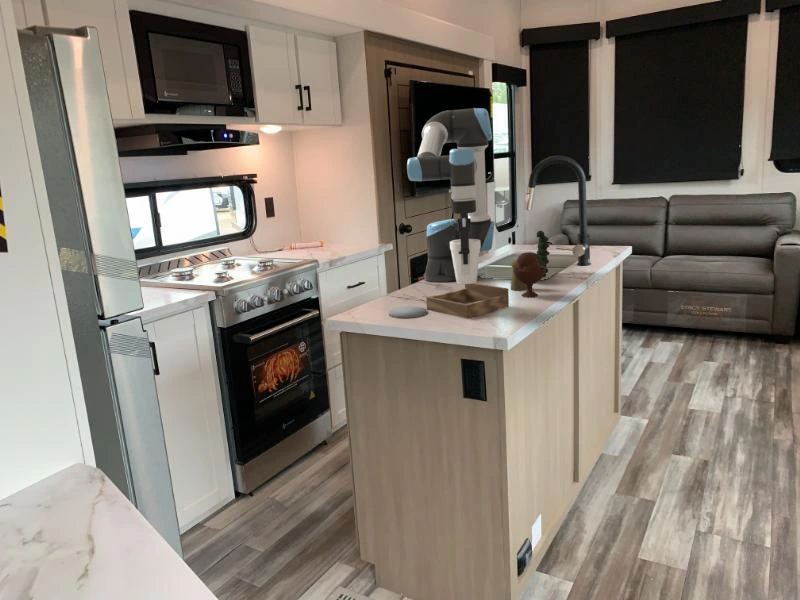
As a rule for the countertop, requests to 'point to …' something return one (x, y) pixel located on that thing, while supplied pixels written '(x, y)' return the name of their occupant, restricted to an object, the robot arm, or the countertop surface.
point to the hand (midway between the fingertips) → (466, 271)
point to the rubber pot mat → (407, 312)
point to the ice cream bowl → (529, 272)
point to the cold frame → (481, 294)
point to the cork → (516, 280)
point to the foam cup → (474, 260)
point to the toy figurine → (542, 250)
